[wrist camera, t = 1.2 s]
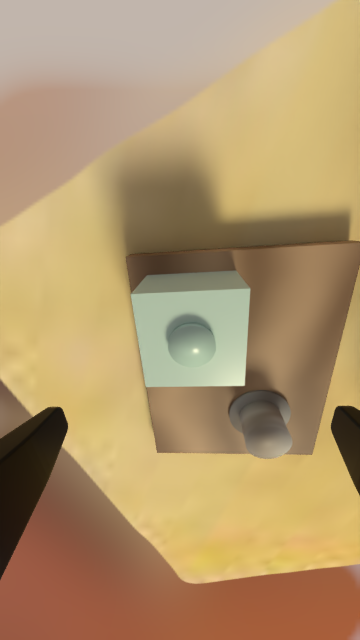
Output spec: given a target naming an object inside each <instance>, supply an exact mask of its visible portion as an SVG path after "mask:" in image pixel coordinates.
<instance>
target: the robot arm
mask: <svg viewBox="0 0 360 640" xmlns="http://www.w3.org/2000/svg"><path fill="white" fill-rule="evenodd" d="M67 430H68V423H67V420H66V417H65V415H64V412H63V409H62V408H61V407H48V408H46V409H45V410H43V411H42V412H40V413H38V414H37V415H35V416H34V417H32V418H31V419H29V420H28V421H26V422H25V423H23V424H22V425H20V426H19V427H18V428H16V429H14V430H13V431H11V432H10V433H8V434H7V435H5V436H4V437H2V438H1V439H0V579H1V577H2V575H3V573H4V571H5V569H6V567H7V565H8V563H9V561H10V559H11V557H12V555H13V553H14V550H15V548H16V546H17V544H18V542H19V540H20V538H21V536H22V534H23V532H24V530H25V528H26V526H27V523H28V521H29V519H30V517H31V515H32V513H33V511H34V509H35V507H36V505H37V503H38V501H39V499H40V497H41V494H42V492H43V490H44V488H45V486H46V484H47V482H48V480H49V477H50V475H51V472H52V470H53V467H54V465H55V462H56V459H57V457H58V454H59V451H60V449H61V446H62V444H63V441H64V438H65V436H66V433H67ZM331 430H332V434H333V436H334V438H335V441H336V443H337V445H338V448H339V450H340V453H341V455H342V457H343V460H344V462H345V464H346V467H347V469H348V471H349V474H350V476H351V478H352V481H353V483H354V485H355V487H356V489H357V491H358V493H359V495H360V410H358V409H356V408H355V407H352V406H338V407H336V409H335V412H334V416H333V419H332V423H331Z"/></svg>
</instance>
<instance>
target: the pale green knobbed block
mask: <svg viewBox="0 0 360 640" xmlns="http://www.w3.org/2000/svg"><path fill="white" fill-rule="evenodd" d="M131 299H132V306H133V312H134V318H135V324H136V330H137V336H138V342H139V349H140V355H141V361H142V367H143V373H144V379H145V385H146V387H194V386H245V371H246V354H247V337H248V320H249V304H250V287H249V286H248V285H247V284H246V282H245V281H244V280H243V278H242V277H241V276H240V275H239V273H238V272H237V271H236V270H234V271H215V272H197V273H178V274H160V275H147V276H146V277H145V278H144V279H143V280H142V282H141V283H140V284H139V285H138V286H137V287H136V289H135V290H134V291H133V292H132V293H131Z"/></svg>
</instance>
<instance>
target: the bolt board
mask: <svg viewBox="0 0 360 640" xmlns="http://www.w3.org/2000/svg"><path fill="white" fill-rule="evenodd" d="M126 262H127V269H128V275H129V281H130V287H131V293H132V292H133V291H134V290H135V289H136V287H137V286H138V285H139V284H140V283H141V282H142V280H143V279H144V278H145V277H146V276H147V275H160V274H178V273H197V272H215V271H234V270H236V271H237V272H238V273H239V275H240V276H241V277H242V278H243V280H244V281H245V282H246V284H247V285H248V286H249V287H250V304H249V320H248V337H247V354H246V371H245V386H194V387H147V393H148V399H149V405H150V412H151V418H152V424H153V430H154V436H155V443H156V449H157V453H225V454H252V455H253V456H255V457H258V458H263V459H272V458H277V457H280V456H282V455H284V454H297V455H312V453H313V449H314V445H315V441H316V437H317V433H318V429H319V425H320V421H321V417H322V413H323V409H324V405H325V401H326V397H327V393H328V389H329V385H330V381H331V377H332V373H333V369H334V365H335V361H336V357H337V353H338V349H339V345H340V341H341V337H342V334H343V330H344V326H345V322H346V318H347V314H348V310H349V306H350V302H351V298H352V294H353V290H354V286H355V282H356V278H357V274H358V270H359V266H360V242H359V241H336V242H320V243H304V244H288V245H272V246H256V247H240V248H224V249H208V250H192V251H176V252H160V253H144V254H130V255H129V256H127V257H126Z"/></svg>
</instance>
